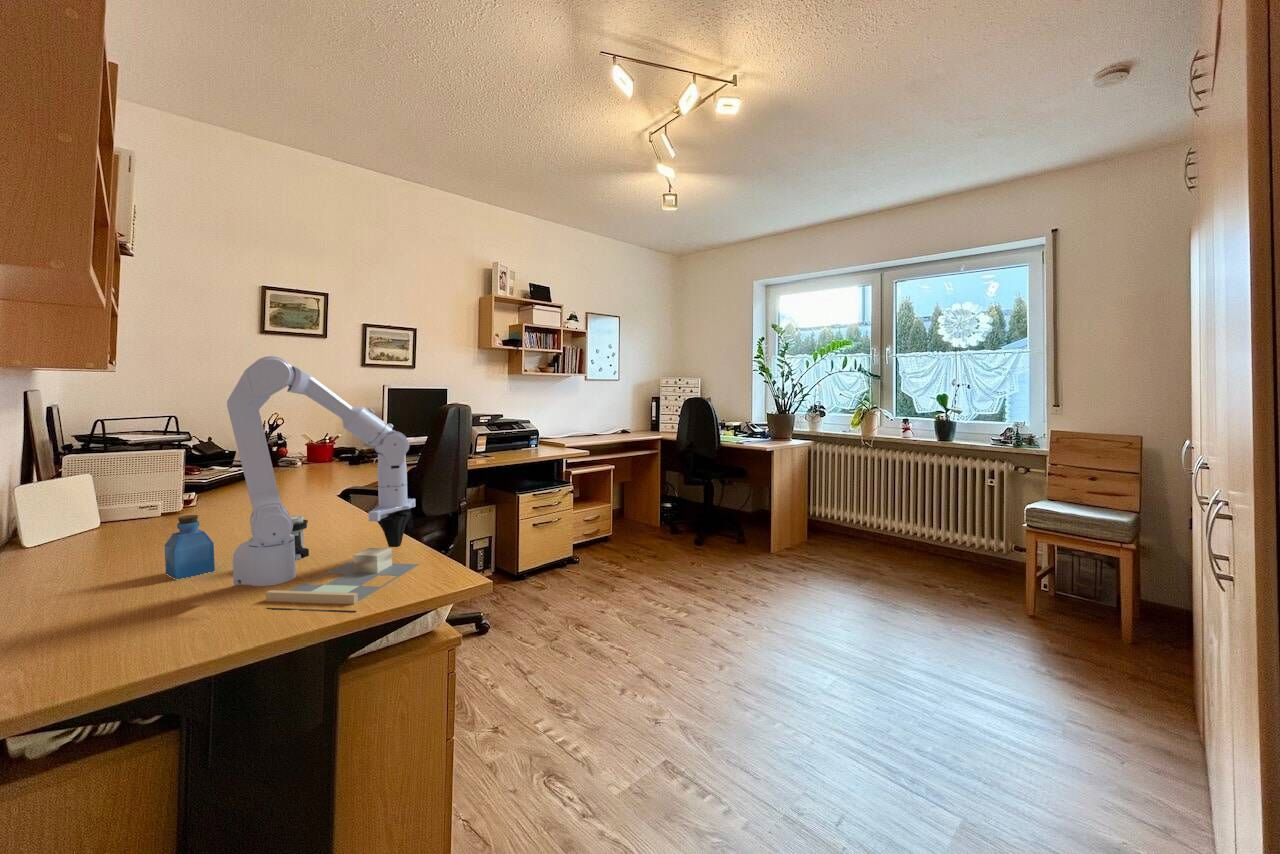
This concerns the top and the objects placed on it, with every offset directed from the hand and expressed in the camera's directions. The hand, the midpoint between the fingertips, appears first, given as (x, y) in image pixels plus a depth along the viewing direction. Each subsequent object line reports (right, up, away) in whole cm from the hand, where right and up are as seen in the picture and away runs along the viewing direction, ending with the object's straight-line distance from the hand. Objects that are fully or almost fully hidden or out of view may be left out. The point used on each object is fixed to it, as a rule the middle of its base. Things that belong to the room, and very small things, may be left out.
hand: (394, 546), depth 109 cm
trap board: (-1, -5, -14) cm, 15 cm away
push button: (-24, -4, +1) cm, 24 cm away
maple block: (-1, -3, -7) cm, 8 cm away
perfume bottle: (-40, -5, -5) cm, 41 cm away
